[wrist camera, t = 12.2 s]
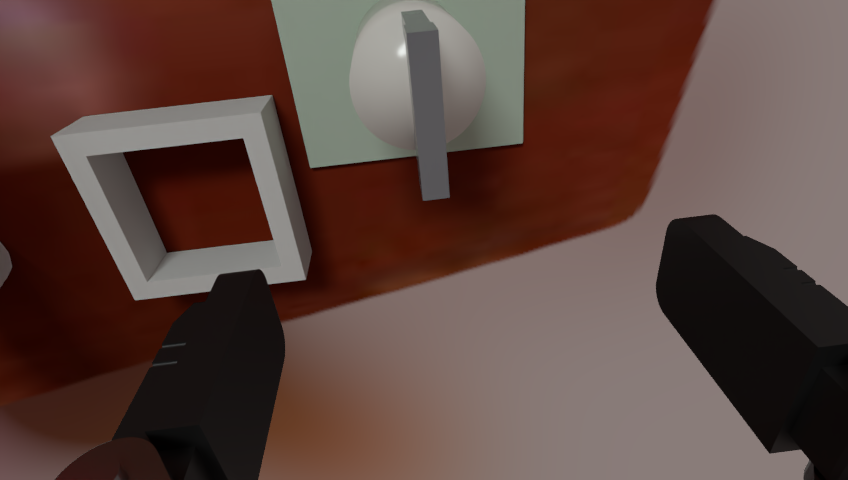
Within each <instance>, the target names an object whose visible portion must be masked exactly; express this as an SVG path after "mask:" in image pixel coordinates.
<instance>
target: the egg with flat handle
mask: <svg viewBox="0 0 848 480" xmlns="http://www.w3.org/2000/svg"><path fill="white" fill-rule="evenodd" d="M349 87H350V95H351V99H352V103H353V105H354V108H355V111H356V112H357V114H358V116H359V118H360V120H361V121H362V122H363V124H364V125H365V126H366V127H367V128H368V130H369V131H370V132H371V133H373V134H374V135H375V136H376V137H377V138H379V139H381V140H382V141H384V142H386V143H388V144H390V145H392V146H395V147H398V148H402V149H407V150H415V152H416V157H417V163H418V173H419V183H420V188H421V193H422V198H423V201H426V200H435V199H443V198H450V195H449V180H448V165H447V150H446V143H448V142H450V141H451V140H453V139H455V138H456V137H457V136H459V135H460V134H461V133H462V132H463V131H464V130H465V129H466V128H467V127H468V126H469V125H470V124H471V122H472V121H473V120H474V118H475V116H476V115H477V113H478V111H479V109H480V107H481V104H482V101H483V98H484V94H485V88H486V71H485V65H484V60H483V57H482V54H481V52H480V50H479V48H478V46H477V44H476V42H475V41H474V39H473V38H472V36H471V35H470V34H469V33H468V32H467V31H466V30H465V29H464V28H463V27H462V26H461V25H460V24H459V23H458V22H457V21H456V20H455V19H454V17H453V16H452V15H451V14H450V13H449V12H448V11H447V10H446V9H445V8H444V7H443V6H441V5H440V4H439V3H438V2H437V1H435V0H379V1H378V2H377V3H375V4H374V5H373V6H372V7H371V8H370V9H369V10H368V11H367V13H366V14H365V15H364V17H363V19H362V20H361V22H360V25H359V27H358V30H357V33H356V38H355V44H354V50H353V56H352V62H351V68H350V75H349Z"/></svg>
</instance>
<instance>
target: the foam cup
mask: <svg viewBox="0 0 848 480" xmlns="http://www.w3.org/2000/svg"><path fill="white" fill-rule="evenodd" d="M11 269H12V263H11V259H10V255H9V252H8V251H7V250H6V248H5V247H4V246H3V245H2V244H1V242H0V287H1V286H2V285H3V283H4V281H5V280H6V279H7V278H8V275H9V273H10V271H11Z"/></svg>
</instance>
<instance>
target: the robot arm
mask: <svg viewBox="0 0 848 480" xmlns="http://www.w3.org/2000/svg"><path fill="white" fill-rule="evenodd" d="M656 293H657V298H658V302H659V305H660V307H661V309H662V312H663V313H664V314H665V316H666V317H667V318H668V320H669V321H670V322H671V324H672V325H673V326H674V328H675V329H676V330H677V332H678V333H679V334H680V336H681V337H682V338H683V340H684V341H685V342H686V343H687V345H688V346H689V348H690V349H691V350H692V351H693V353H694V354H695V355H696V357H697V358H698V359H699V361H700V362H701V363H702V365H703V366H704V367H705V369H706V370H707V371H708V372H709V374H710V375H711V377H712V378H713V379H714V380H715V382H716V383H717V385H718V386H719V387H720V388H721V390H722V391H723V392H724V394H725V395H726V396H727V398H728V399H729V400H730V402H731V403H732V404H733V406H734V407H735V408H736V410H737V411H738V412H739V413H740V415H741V416H742V417H743V419H744V420H745V421H746V423H747V424H748V426H749V427H750V428H751V429H752V431H753V432H754V433H755V434H756V436H757V437H758V439H759V440H760V441H761V443H762V444H763V445H764V447H765V448H766V449H767V451H768V452H769V453H777V452H785V451H792V450H799V449H801V450H802V451H803V452H804V454H805V455H806V456H807V457H808V458H809V462H808V464H807V466H806V468H805V470H804V480H848V306H846V305H845V304H844V303H842V302H841V301H840V300H839V299H838V298H836V297H835V296H834V295H833V294H831V293H830V292H829V291H827V290H826V289H825V288H824V287H822V286H821V285H816V284H815V280H813V279H812V278H811V277H810V276H808V275H807V274H806V273H805V272H803V271H802V270H797V266H796V265H795V264H793V263H792V262H791V261H789V260H788V259H787V258H786V257H784V256H783V255H782V254H781V253H779V252H778V251H777V250H775V249H774V248H771V247H769V246H767V245H765V244H763V243H760V242H758V241H756V240H754V239H752V238H750V237H747V236H743V235H742V234H740V233H739V232H738V231H737V230H735V229H734V228H733V227H732V226H731V225H729V224H728V223H727V222H726V221H724V220H723V219H722V218H721V217H719V216H717V215H704V216H696V217H688V218H679V219H674V220H672V221H671V222H670V224H669V225H668V228H667V231H666V236H665V241H664V246H663V251H662V256H661V262H660V266H659V271H658V277H657V282H656ZM284 357H285V339H284V333H283V329H282V325H281V322H280V319H279V316H278V313H277V310H276V307H275V304H274V301H273V298H272V295H271V292H270V289H269V286H268V283H267V280H266V277H265V275H264V273H263V272H262V271H261V270H260V269H256V270H248V271H239V272H231V273H223V274H220V275H218V276H217V278H216V280H215V282H214V284H213V287H212V289H211V291H210V293H209V295H208V297H207V299H206V301H205V302H199V303H194V304H193V305H192V306H191V307H189V308H188V309H187V310H186V311H185V312H184V313H183V314H182V315H181V316H180V317H179V318H178V319H177V320H176V321H175V322H174V323H173V324H172V326H171V328H170V330H169V332H168V334H167V336H166V338H165V340H164V342H163V343H162V349H159V351H158V353H157V355H156V357H155V359H154V361H153V362H152V364H153V367H151V368H149V370H148V372H147V374H146V376H145V378H144V380H143V382H142V383H141V385H140V387H139V389H138V391H137V393H136V395H135V397H134V399H133V401H132V402H131V404H130V406H129V408H128V410H127V412H126V414H125V416H124V418H123V419H122V421H121V423H120V425H119V427H118V429H117V431H116V433H115V435H114V437H113V438H112V440H111V441H109V442H106V443H103V444H101V445H99V446H97V447H95V448H93V449H91V450H89V451H88V452H86V453H84V454H83V455H81V456H80V457H78V458H77V459H76V460H74V461H73V462H72V463H71V464H69V465H68V466H67V467H66V468H65V469H64V470H63V471H62V472H61V473H60V474H59V475H58V476H57V477H56V479H55V480H258V477H259V473H260V468H261V464H262V459H263V455H264V450H265V445H266V441H267V436H268V432H269V427H270V423H271V418H272V413H273V409H274V404H275V400H276V395H277V390H278V386H279V382H280V377H281V372H282V368H283V363H284Z"/></svg>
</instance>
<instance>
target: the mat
mask: <svg viewBox="0 0 848 480" xmlns="http://www.w3.org/2000/svg"><path fill="white" fill-rule="evenodd" d="M271 1H272V6H273V10H274V14H275V18H276V23H277V27H278V31H279V36H280V40H281V44H282V49H283V53H284V57H285V62H286V66H287V70H288V75H289V79H290V83H291V87H292V92H293V96H294V100H295V105H296V109H297V113H298V118H299V122H300V126H301V131H302V135H303V139H304V143H305V148H306V152H307V156H308V161H309V165H310V168H315V167H324V166H332V165H341V164H349V163H358V162H367V161H375V160H384V159H392V158H401V157H410V156H416V152H415V150H407V149H402V148H398V147H395V146H392V145H390V144H388V143H386V142H384V141H382V140H381V139H379V138H377V137H376V136H375V135H374V134H373V133H371V132H370V131H369V130H368V128H367V127H366V126H365V125H364V124H363V122H362V121H361V120H360V118H359V116H358V114H357V112H356V111H355V108H354V105H353V103H352V99H351V95H350V87H349V75H350V68H351V62H352V56H353V50H354V44H355V38H356V33H357V30H358V27H359V25H360V22H361V20H362V19H363V17H364V15H365V14H366V13H367V11H368V10H369V9H370V8H371V7H372V6H373V5H374V4H375V3H377V2H378V1H379V0H271ZM435 1H437V2H438V3H439V4H440V5H441V6H443V7H444V8H445V9H446V10H447V11H448V12H449V13H450V14H451V15H452V16H453V17H454V19H455V20H456V21H457V22H458V23H459V24H460V25H461V26H462V27H463V28H464V29H465V30H466V31H467V32H468V33H469V34H470V35H471V36H472V38H473V39H474V41H475V42H476V44H477V46H478V48H479V50H480V52H481V54H482V57H483V60H484V65H485V71H486V88H485V94H484V98H483V101H482V104H481V107H480V109H479V111H478V113H477V115H476V116H475V118H474V120H473V121H472V122H471V124H470V125H469V126H468V127H467V128H466V129H465V130H464V131H463V132H462V133H461V134H460V135H459V136H457V137H456V138H455V139H453V140H451V141H450V142H448V143H446V150H447V152H453V151H461V150H470V149H478V148H487V147H496V146H504V145H513V144H521V143H523V100H524V34H525V0H435Z"/></svg>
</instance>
